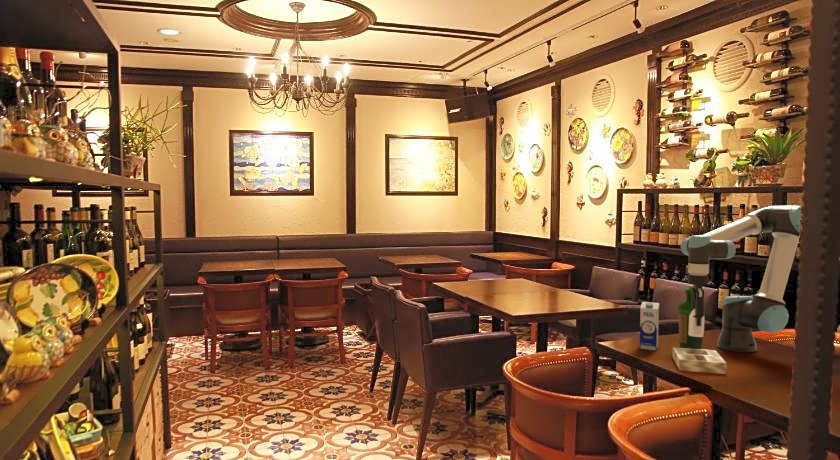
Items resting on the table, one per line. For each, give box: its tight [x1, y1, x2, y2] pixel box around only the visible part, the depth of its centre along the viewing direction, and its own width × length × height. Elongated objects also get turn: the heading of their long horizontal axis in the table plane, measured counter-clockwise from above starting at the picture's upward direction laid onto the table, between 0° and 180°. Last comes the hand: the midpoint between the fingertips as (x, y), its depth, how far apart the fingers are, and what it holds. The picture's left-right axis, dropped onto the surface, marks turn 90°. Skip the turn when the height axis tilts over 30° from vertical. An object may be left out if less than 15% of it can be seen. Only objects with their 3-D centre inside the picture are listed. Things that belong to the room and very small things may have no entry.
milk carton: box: [639, 301, 660, 352], centre depth 258 cm, size 7×7×20 cm
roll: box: [688, 309, 705, 338], centre depth 236 cm, size 6×12×6 cm
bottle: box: [677, 284, 706, 349], centre depth 255 cm, size 11×11×28 cm
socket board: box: [671, 347, 728, 375], centre depth 232 cm, size 16×21×4 cm
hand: (696, 332), depth 236 cm, fingers closed on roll, 6 cm apart
